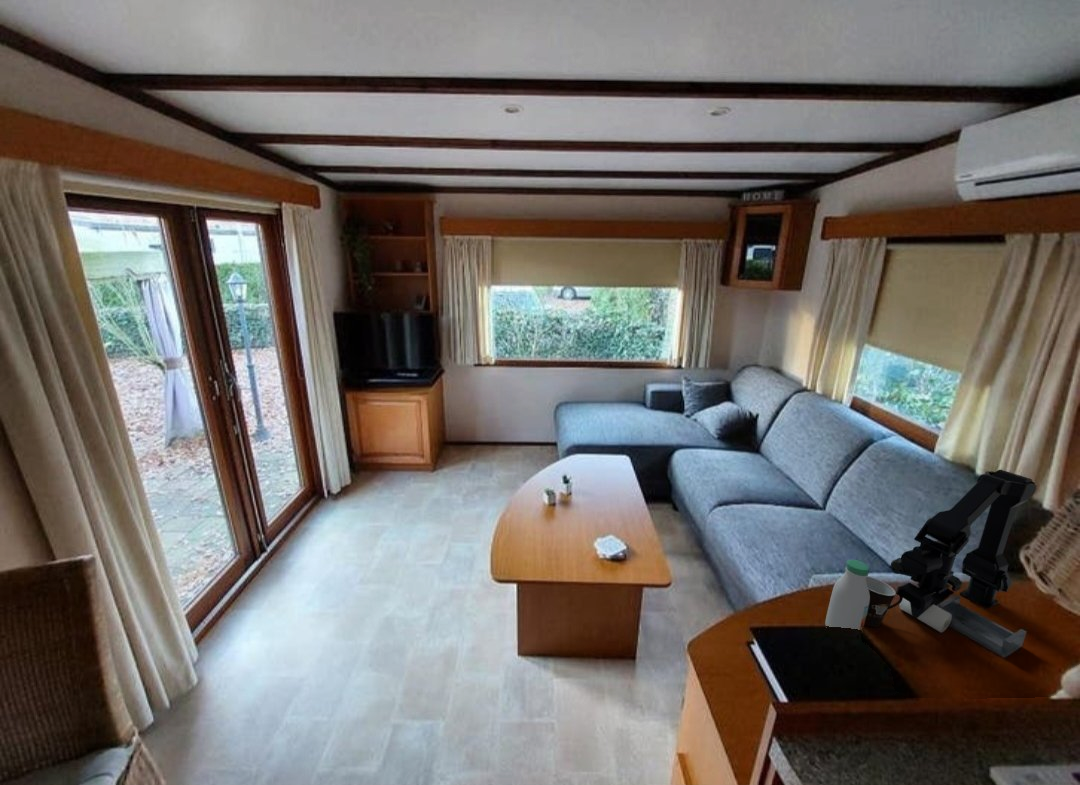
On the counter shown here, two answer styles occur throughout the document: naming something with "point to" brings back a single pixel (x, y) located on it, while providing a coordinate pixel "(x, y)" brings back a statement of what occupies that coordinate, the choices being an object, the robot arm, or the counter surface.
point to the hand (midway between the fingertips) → (921, 613)
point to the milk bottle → (850, 598)
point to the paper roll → (931, 616)
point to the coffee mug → (879, 601)
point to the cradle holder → (982, 629)
